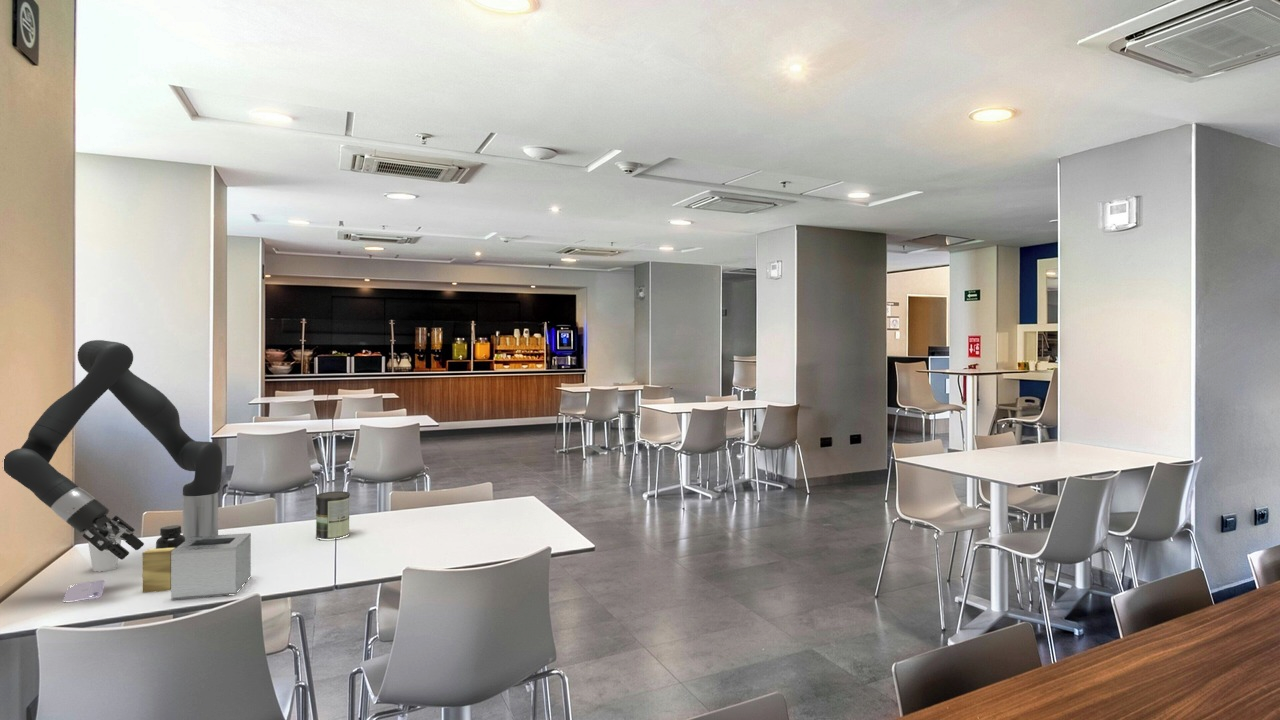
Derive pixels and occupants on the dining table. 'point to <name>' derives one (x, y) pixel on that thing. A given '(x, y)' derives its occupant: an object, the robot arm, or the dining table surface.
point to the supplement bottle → (170, 537)
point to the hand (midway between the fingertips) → (133, 551)
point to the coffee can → (332, 514)
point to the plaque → (157, 570)
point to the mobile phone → (85, 591)
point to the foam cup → (103, 558)
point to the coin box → (210, 566)
